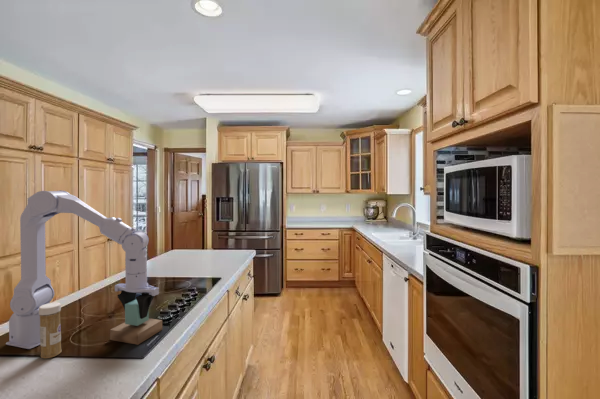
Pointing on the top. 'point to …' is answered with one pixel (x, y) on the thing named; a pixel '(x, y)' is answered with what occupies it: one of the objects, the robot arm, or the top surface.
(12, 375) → the top surface
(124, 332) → the walnut base
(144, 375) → the top surface
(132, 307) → the teal block
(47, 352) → the sprinkles bottle
